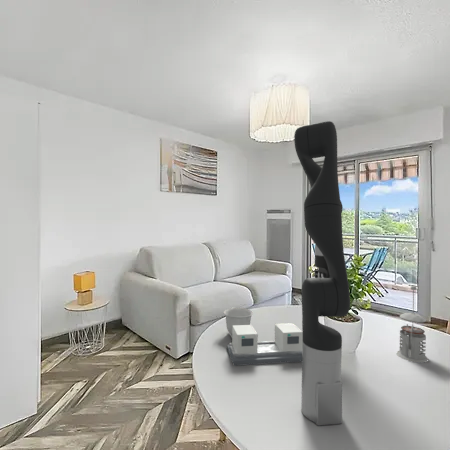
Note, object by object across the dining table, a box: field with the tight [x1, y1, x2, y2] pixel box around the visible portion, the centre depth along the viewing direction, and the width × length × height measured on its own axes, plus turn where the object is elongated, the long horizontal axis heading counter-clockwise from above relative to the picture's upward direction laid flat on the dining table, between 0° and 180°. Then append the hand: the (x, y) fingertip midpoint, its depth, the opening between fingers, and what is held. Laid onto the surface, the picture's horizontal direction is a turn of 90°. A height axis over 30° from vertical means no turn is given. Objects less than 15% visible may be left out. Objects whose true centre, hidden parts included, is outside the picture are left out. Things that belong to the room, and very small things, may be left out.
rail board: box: [226, 344, 302, 366], centre depth 106 cm, size 26×13×2 cm, turn 99°
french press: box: [396, 285, 429, 363], centre depth 105 cm, size 10×12×25 cm
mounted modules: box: [231, 322, 303, 354], centre depth 106 cm, size 23×9×7 cm, turn 99°
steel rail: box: [228, 340, 302, 358], centre depth 106 cm, size 25×9×1 cm, turn 99°
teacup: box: [223, 306, 254, 338], centre depth 124 cm, size 12×15×10 cm
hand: (325, 301), depth 107 cm, fingers closed on supplement bottle, 5 cm apart
